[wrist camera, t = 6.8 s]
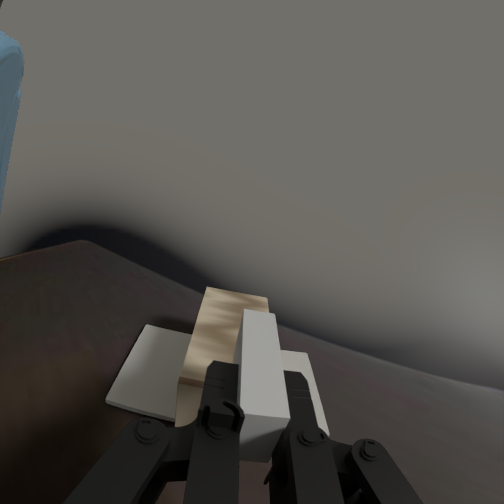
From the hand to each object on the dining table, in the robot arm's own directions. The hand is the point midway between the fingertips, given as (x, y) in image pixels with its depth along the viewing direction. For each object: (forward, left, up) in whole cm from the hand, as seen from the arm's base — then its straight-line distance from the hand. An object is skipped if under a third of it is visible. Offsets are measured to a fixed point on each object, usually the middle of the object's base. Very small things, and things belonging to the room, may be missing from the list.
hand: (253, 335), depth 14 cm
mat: (0, +8, -11) cm, 14 cm away
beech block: (0, 0, -8) cm, 8 cm away
